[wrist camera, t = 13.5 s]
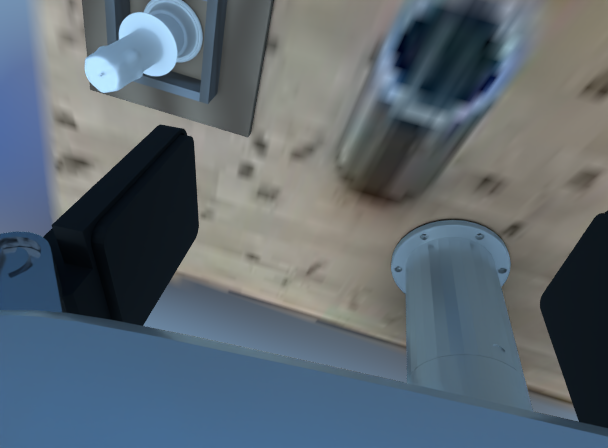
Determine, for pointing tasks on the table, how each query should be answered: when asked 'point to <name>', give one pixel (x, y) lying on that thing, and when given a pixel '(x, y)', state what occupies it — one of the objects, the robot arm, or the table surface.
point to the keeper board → (197, 61)
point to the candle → (146, 45)
